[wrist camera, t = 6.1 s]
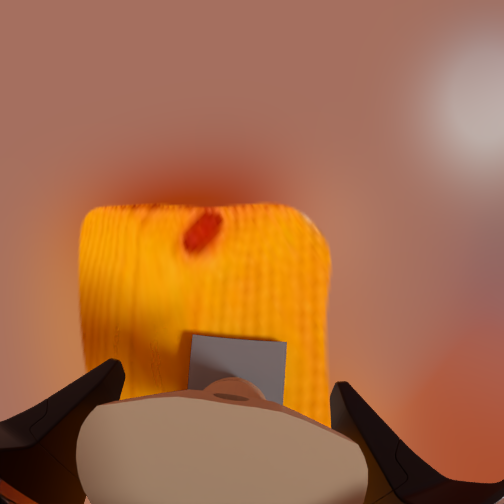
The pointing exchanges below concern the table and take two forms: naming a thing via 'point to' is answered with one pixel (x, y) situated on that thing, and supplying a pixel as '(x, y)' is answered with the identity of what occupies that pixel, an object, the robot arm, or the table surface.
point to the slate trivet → (238, 363)
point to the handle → (215, 451)
